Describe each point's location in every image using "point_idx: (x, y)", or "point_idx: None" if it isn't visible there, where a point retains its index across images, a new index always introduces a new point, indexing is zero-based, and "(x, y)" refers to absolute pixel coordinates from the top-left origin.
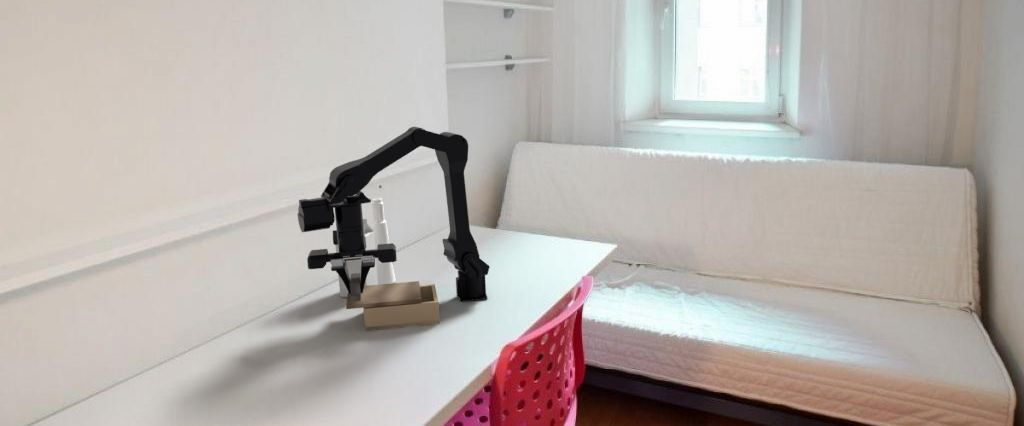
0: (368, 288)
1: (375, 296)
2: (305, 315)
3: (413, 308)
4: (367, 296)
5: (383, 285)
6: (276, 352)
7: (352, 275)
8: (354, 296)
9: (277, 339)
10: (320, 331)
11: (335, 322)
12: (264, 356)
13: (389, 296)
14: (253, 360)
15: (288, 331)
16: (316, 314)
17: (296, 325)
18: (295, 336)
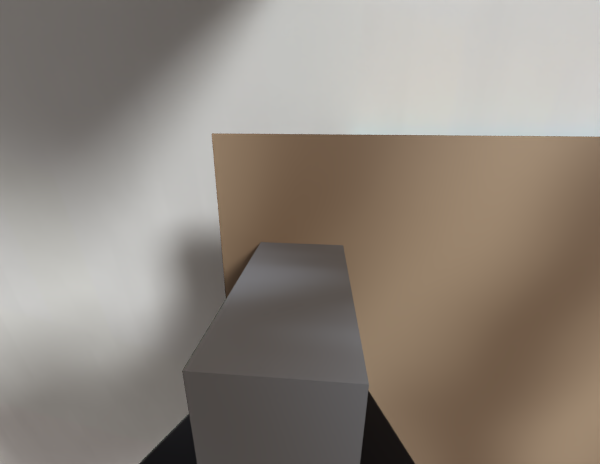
0: (409, 228)
1: (440, 419)
2: (37, 112)
3: None
4: (381, 401)
5: (582, 183)
6: (70, 425)
7: (225, 460)
8: None
9: (30, 342)
10: (163, 320)
11: (206, 248)
12: (47, 437)
13: (541, 447)
14: (28, 449)
15: (38, 285)
16: (89, 113)
17: (45, 233)
18: (84, 336)
